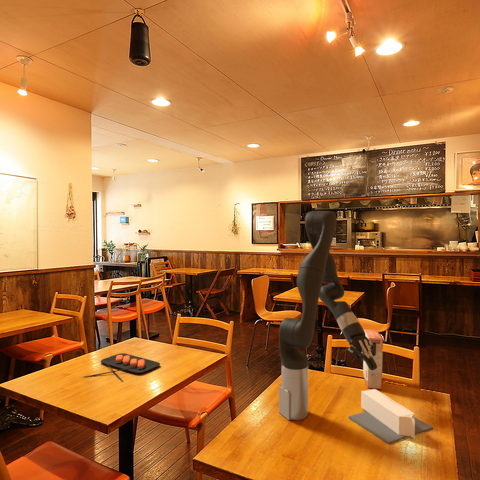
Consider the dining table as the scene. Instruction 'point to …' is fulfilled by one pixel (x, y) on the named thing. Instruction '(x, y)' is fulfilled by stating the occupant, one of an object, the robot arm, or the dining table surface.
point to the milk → (388, 412)
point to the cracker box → (375, 376)
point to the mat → (385, 427)
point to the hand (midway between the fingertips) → (374, 369)
